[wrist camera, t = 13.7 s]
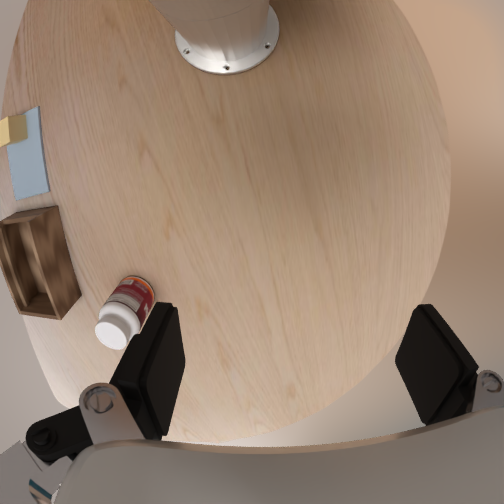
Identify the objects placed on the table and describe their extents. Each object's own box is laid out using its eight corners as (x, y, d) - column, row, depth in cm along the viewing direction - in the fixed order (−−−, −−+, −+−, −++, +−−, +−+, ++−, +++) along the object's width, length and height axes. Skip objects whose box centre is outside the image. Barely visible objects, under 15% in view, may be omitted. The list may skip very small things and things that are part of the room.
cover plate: (8, 122, 31) (-13, 126, 26) (41, 106, 30) (19, 107, 25) (19, 198, 36) (-1, 208, 31) (52, 190, 36) (31, 199, 31)
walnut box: (16, 212, 37) (-11, 227, 30) (57, 205, 37) (28, 221, 30) (40, 292, 43) (19, 313, 37) (81, 295, 43) (61, 319, 36)
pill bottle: (146, 314, 44) (123, 361, 34) (114, 294, 43) (85, 337, 33) (162, 289, 42) (138, 336, 32) (128, 267, 41) (96, 309, 31)
